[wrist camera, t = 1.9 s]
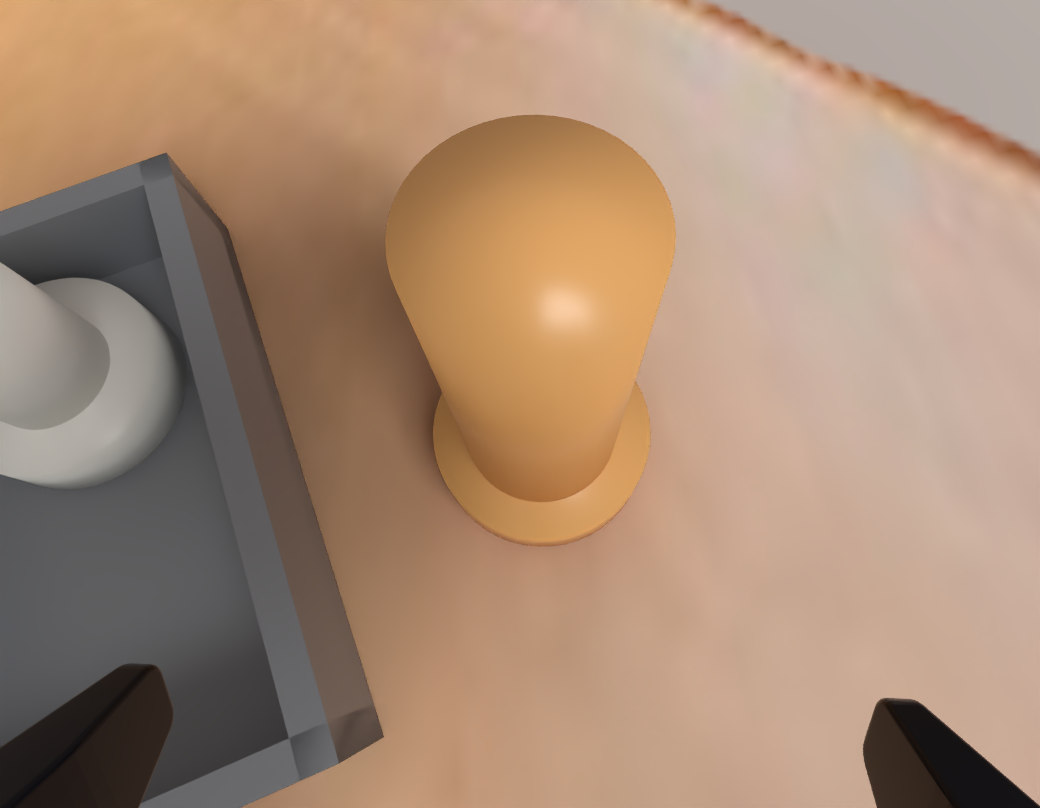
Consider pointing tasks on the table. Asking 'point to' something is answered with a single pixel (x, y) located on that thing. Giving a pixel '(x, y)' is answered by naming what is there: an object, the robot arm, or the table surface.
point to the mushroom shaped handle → (534, 317)
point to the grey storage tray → (161, 495)
